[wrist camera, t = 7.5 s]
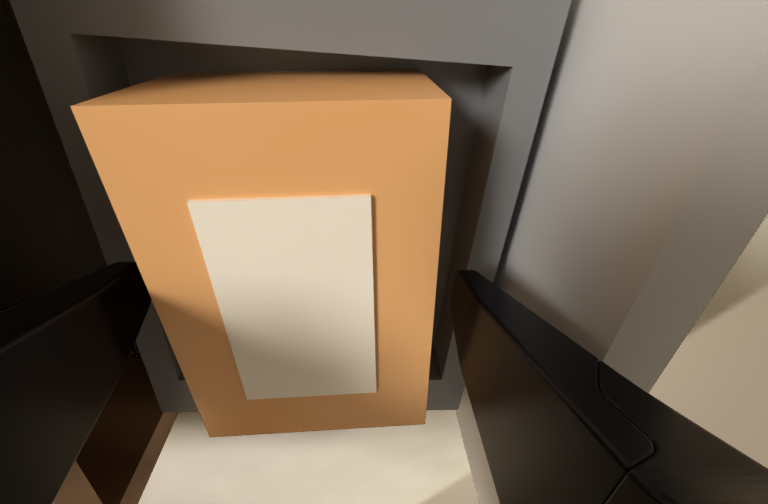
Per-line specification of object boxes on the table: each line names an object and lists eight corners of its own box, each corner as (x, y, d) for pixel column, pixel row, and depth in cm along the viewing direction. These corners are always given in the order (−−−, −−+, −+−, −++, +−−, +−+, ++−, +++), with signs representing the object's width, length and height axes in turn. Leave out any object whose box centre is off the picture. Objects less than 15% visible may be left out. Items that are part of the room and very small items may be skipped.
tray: (475, 379, 16) (535, 562, 11) (198, 379, 15) (111, 582, 10) (615, -94, 8) (1107, -298, 3) (51, -161, 7) (-851, -677, 2)
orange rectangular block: (409, 329, 13) (425, 427, 10) (243, 337, 13) (208, 440, 10) (418, 69, 9) (453, 100, 6) (170, 73, 8) (66, 107, 5)
